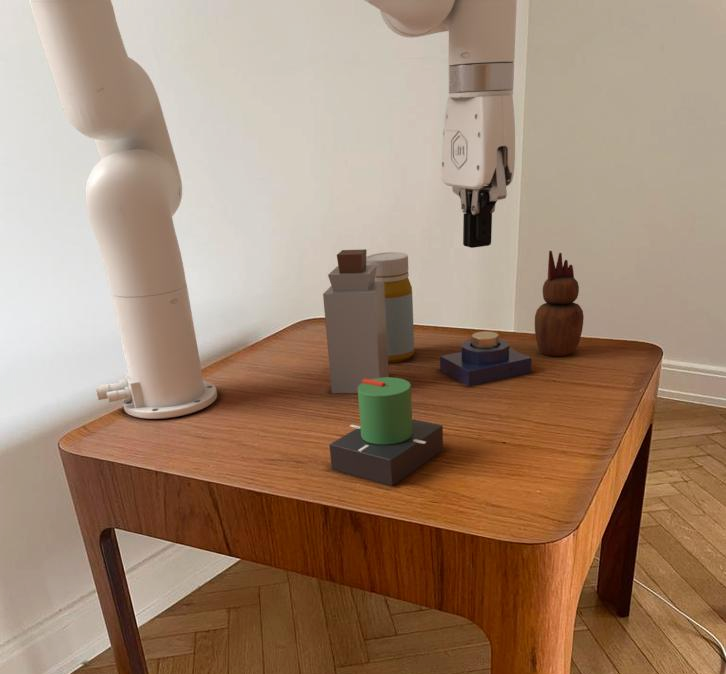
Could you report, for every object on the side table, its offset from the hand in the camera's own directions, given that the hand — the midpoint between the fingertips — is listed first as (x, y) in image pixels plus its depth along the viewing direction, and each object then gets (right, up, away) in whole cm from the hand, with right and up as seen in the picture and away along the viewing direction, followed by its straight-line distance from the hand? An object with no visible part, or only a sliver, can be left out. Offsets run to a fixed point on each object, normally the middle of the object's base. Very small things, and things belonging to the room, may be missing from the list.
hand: (477, 245), depth 95 cm
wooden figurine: (+14, -11, +15) cm, 24 cm away
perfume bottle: (-15, -17, +9) cm, 24 cm away
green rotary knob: (-12, -25, -15) cm, 31 cm away
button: (+2, -11, +9) cm, 15 cm away
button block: (+3, -15, +10) cm, 18 cm away
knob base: (-12, -28, -13) cm, 33 cm away
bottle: (-10, -11, +19) cm, 24 cm away
